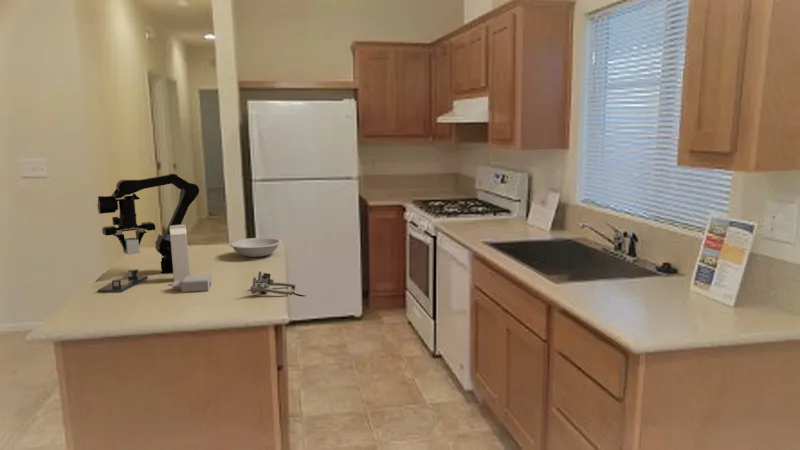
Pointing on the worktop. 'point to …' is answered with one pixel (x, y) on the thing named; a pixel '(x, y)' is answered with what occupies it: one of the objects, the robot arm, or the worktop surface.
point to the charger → (193, 283)
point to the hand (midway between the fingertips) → (131, 249)
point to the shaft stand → (123, 282)
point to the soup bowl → (255, 246)
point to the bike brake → (266, 281)
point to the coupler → (131, 246)
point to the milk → (179, 252)
